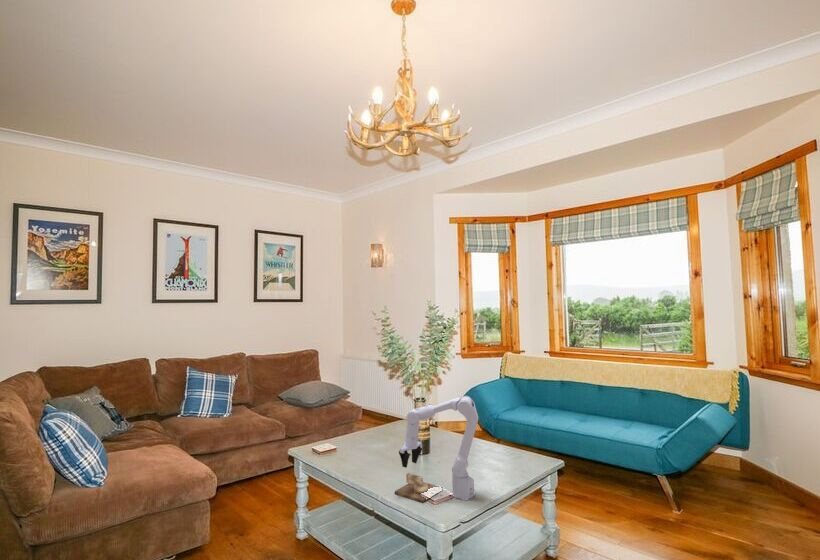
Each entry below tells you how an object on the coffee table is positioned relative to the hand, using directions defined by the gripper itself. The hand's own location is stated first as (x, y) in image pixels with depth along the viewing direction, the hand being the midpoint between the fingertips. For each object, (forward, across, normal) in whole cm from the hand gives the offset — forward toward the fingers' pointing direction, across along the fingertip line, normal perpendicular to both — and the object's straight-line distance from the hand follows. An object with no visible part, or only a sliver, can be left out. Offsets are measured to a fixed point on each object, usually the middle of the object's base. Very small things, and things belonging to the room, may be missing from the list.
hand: (409, 464), depth 210 cm
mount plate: (+11, -1, +6) cm, 13 cm away
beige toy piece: (+10, 0, +6) cm, 11 cm away
